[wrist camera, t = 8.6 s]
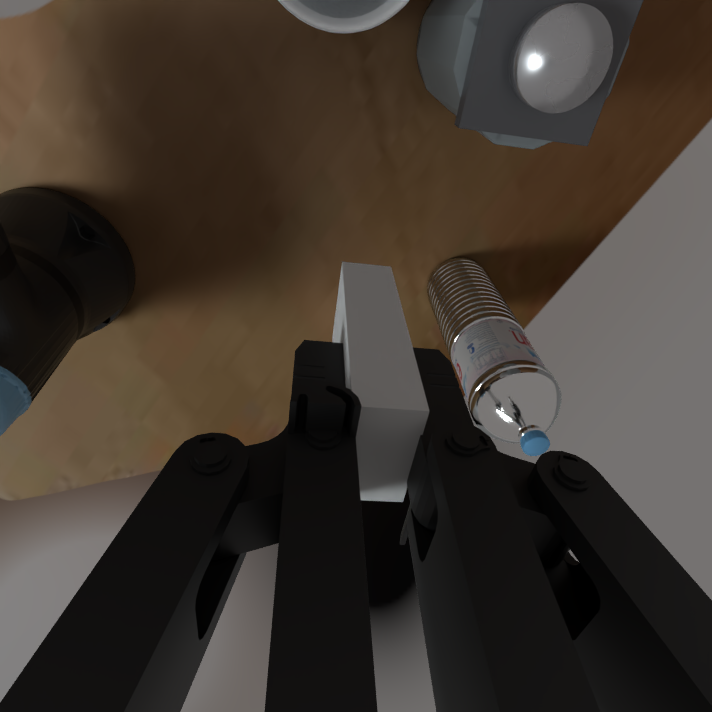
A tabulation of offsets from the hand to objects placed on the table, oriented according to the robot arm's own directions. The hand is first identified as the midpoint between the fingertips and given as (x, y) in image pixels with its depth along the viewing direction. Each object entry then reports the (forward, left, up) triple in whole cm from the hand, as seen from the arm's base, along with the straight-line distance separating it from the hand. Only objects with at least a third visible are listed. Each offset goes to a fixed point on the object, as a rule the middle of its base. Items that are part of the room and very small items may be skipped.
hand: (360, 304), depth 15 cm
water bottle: (+15, -15, -35) cm, 41 cm away
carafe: (+11, +8, -34) cm, 37 cm away
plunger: (+11, +7, -32) cm, 34 cm away
